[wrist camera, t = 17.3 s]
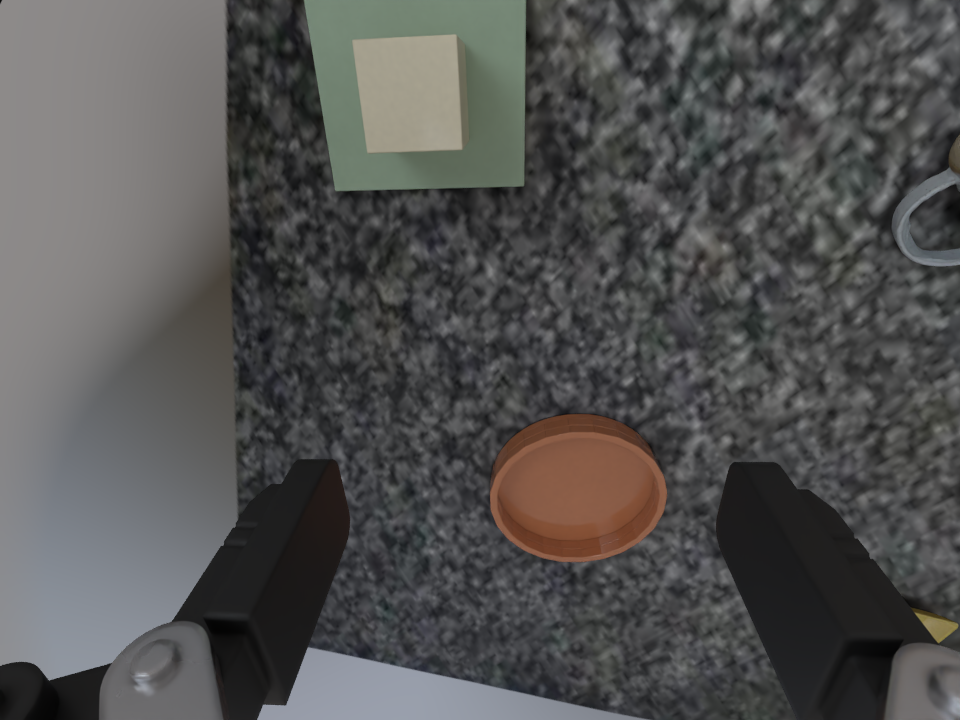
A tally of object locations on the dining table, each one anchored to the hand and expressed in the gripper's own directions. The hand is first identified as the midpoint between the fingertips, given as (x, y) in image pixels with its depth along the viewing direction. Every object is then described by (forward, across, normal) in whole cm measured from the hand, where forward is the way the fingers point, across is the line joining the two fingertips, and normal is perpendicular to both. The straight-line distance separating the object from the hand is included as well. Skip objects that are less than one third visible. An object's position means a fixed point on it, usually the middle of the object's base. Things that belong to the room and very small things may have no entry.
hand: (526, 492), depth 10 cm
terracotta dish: (+25, -4, +22) cm, 34 cm away
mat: (+25, +6, -7) cm, 27 cm away
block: (+24, +5, -7) cm, 26 cm away
